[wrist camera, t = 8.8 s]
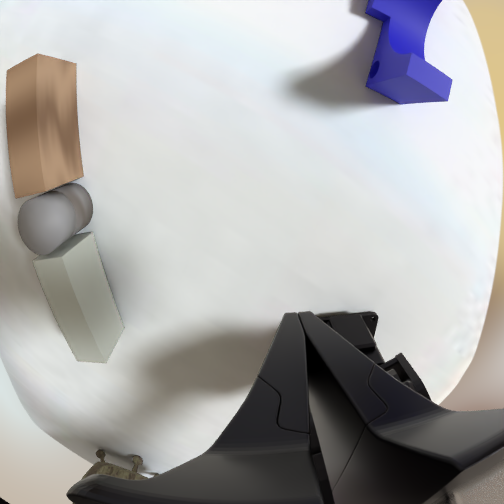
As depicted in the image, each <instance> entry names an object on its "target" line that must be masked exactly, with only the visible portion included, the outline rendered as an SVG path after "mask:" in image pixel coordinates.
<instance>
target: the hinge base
mask: <svg viewBox="0 0 504 504" xmlns="http://www.w3.org/2000/svg"><path fill="white" fill-rule="evenodd" d="M6 123H7V139H8V150H9V159H10V167H11V175H12V181H13V187H14V193H15V198H20V197H24V196H28V195H32V194H37V193H41V192H45V191H48V190H50V189H53V188H55V187H58V186H60V185H63V184H65V183H68V182H70V181H73V180H75V179H78V178H81V177H83V176H84V175H83V168H82V160H81V151H80V142H79V130H78V116H77V94H76V63H72V62H69V61H65V60H61V59H57V58H54V57H50V56H46V55H41V54H36V55H34V56H32V57H30V58H28V59H26V60H24V61H23V62H21V63H19V64H17V65H15V66H14V67H12V68H10V69H9V70H7V77H6ZM51 191H59V192H61V193H63V194H64V195H65V196H67V197H68V199H69V200H70V201H71V203H72V205H73V207H74V210H75V214H76V227H75V231H74V233H73V235H75V234H76V233H77V232H79V231H80V230H82V229H83V228H84V227H86V226H87V225H88V224H89V222H90V220H91V218H92V214H93V204H92V200H91V197H90V195H89V193H88V192H87V191H86V189H85V188H84V187H82V186H81V185H79V184H76V183H68V184H65V185H63V186H60V187H58V188H56V189H53V190H51ZM73 235H72V236H73ZM72 236H71V237H72ZM71 237H70V238H71Z"/></svg>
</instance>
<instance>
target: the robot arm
mask: <svg viewBox="0 0 504 504" xmlns="http://www.w3.org/2000/svg"><path fill="white" fill-rule="evenodd" d="M372 317H374V318H372ZM371 318H372V319H371ZM377 322H378V316H377V314H376V313H375V312H368V313H358V314H349V315H339V316H332V317H321V318H318V317H317V316H316V315H314V314H313V313H312V312H310V311H306V312H299V313H298V314H297V313H296V312H293V313H285V314H284V316H283V318H282V321H281V323H280V325H279V328H278V330H277V332H276V335H275V337H274V339H273V342H272V344H271V346H270V349H269V351H268V353H267V355H266V358H265V360H264V362H263V364H262V367H261V369H260V371H259V373H258V376H257V378H256V380H255V382H254V384H253V386H252V388H251V390H250V392H249V394H248V396H247V398H246V399H245V401H244V402H243V404H242V405H241V407H240V409H239V410H238V412H237V413H236V414H235V416H234V417H233V419H232V420H231V421H230V423H229V424H228V425H227V427H226V428H225V429H224V431H223V432H222V434H221V435H220V436H219V438H218V439H217V440H216V441H215V443H214V444H213V445H212V446H211V447H210V448H209V449H208V450H207V451H206V452H204V453H203V454H202V455H200V456H198V457H196V458H194V459H192V460H190V461H188V462H186V463H184V464H182V465H180V466H178V467H175V468H173V469H171V470H169V471H167V472H165V473H162V474H160V475H158V476H155V477H152V478H149V479H142V480H129V479H122V478H118V477H114V476H109V475H104V474H93V475H90V476H88V477H86V478H84V479H82V480H80V481H79V482H77V483H76V484H74V485H73V486H72V487H71V488H70V489H69V491H68V492H67V497H68V498H69V499H70V500H71V501H72V502H73V503H75V504H504V409H495V410H481V411H451V410H448V409H445V408H442V407H441V406H439V405H437V404H435V403H434V402H432V401H431V399H430V396H429V394H428V392H427V390H426V388H425V386H424V384H423V382H422V381H421V379H420V378H419V376H418V375H417V373H416V372H415V371H414V369H413V368H412V366H411V365H410V364H409V362H408V361H407V360H406V358H405V357H404V355H403V354H402V353H400V354H398V355H396V356H395V358H393V359H391V360H389V361H387V362H385V361H384V359H383V357H382V355H381V353H380V352H379V350H378V348H377V346H376V342H375V340H374V335H375V331H376V326H377ZM0 504H9V503H8V502H6V501H5V500H3V499H2V498H0Z"/></svg>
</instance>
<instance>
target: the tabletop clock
mask: <svg viewBox="0 0 504 504" xmlns="http://www.w3.org/2000/svg"><path fill="white" fill-rule="evenodd" d="M96 455H97V457H98V458H100V459H101V462H97V463H96V464H94V465H93V466H92V467H91V468H90V469H89V471H88V472H87V473H86V474H85V475H84V476H83V478H82V479H84V478H86V477H88V476H90V475H93V474H104V475H109V476H114V477H118V478H122V479H129V480H142V479H149V478H147V477H145V476H142V475H140V474H138V473H137V468H138V465H141V464H142V462H143V460H142V458H141V457H140V456H135V457H133V462H134V464H135V465H134V467H133V469H132V471H130V470H127V469H124V468H121V467H118V466H116V465H113V464H109V463H105V461H104V457H105V453H104V452H103V451H102V450H98V451H97V452H96ZM158 475H159V474H156V475H154V477H155V476H158ZM82 479H81V480H82ZM73 504H75V503H73Z"/></svg>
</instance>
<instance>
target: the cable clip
mask: <svg viewBox="0 0 504 504" xmlns="http://www.w3.org/2000/svg"><path fill="white" fill-rule="evenodd" d="M441 1H442V0H369V1H368V5H367V8H366V12H365V13H366V14H368V15H370V16H372V17H374V18H376V19H378V20H380V21H382V22H383V25H382V29H381V33H380V37H379V40H378V44H377V48H376V51H375V55H374V59H373V62H372V66H371V69H370V73H369V76H368V79H367V83H366V86H365V87H368V88H370V89H372V90H374V91H376V92H378V93H380V94H382V95H384V96H386V97H388V98H390V99H392V100H393V101H395V102H397V103H399V104H411V103H424V102H442V101H448V98H449V94H450V89H451V84H452V79H451V78H449V77H448V76H446V75H445V74H444V73H442V72H441V71H439V70H438V69H436V68H435V67H433V66H432V65H430V64H429V63H427V62H426V61H425V58H424V42H425V36H426V32H427V29H428V26H429V23H430V20H431V18H432V16H433V14H434V12H435V10H436V9H437V7H438V5H439V4H440V3H441Z"/></svg>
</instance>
